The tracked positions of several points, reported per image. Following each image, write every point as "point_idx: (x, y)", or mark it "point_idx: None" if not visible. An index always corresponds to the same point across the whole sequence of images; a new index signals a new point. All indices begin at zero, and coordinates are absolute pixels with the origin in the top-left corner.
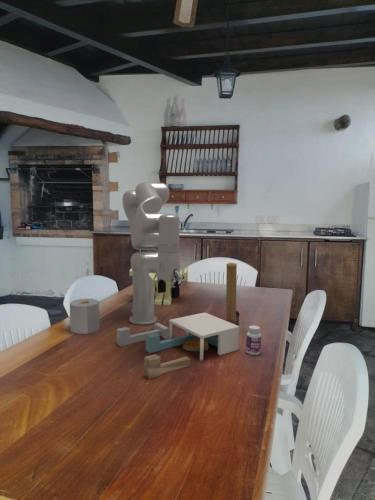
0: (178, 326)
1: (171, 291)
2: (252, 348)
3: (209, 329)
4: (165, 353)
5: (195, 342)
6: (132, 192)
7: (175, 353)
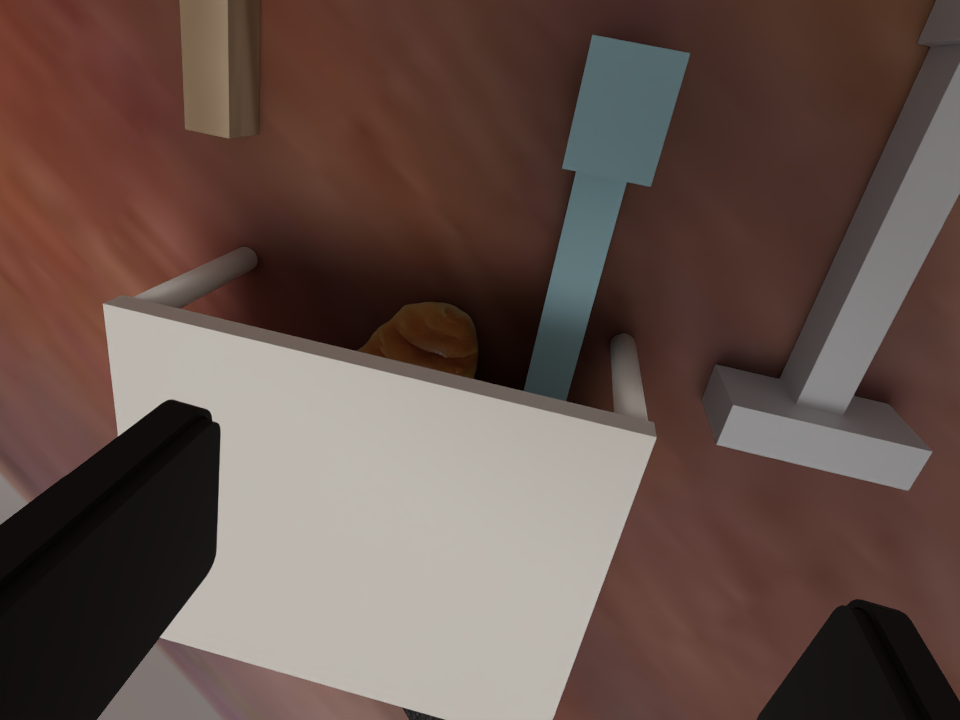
0: (479, 383)
1: (46, 513)
2: None
3: None
4: (496, 151)
5: None
6: None
7: (442, 210)
